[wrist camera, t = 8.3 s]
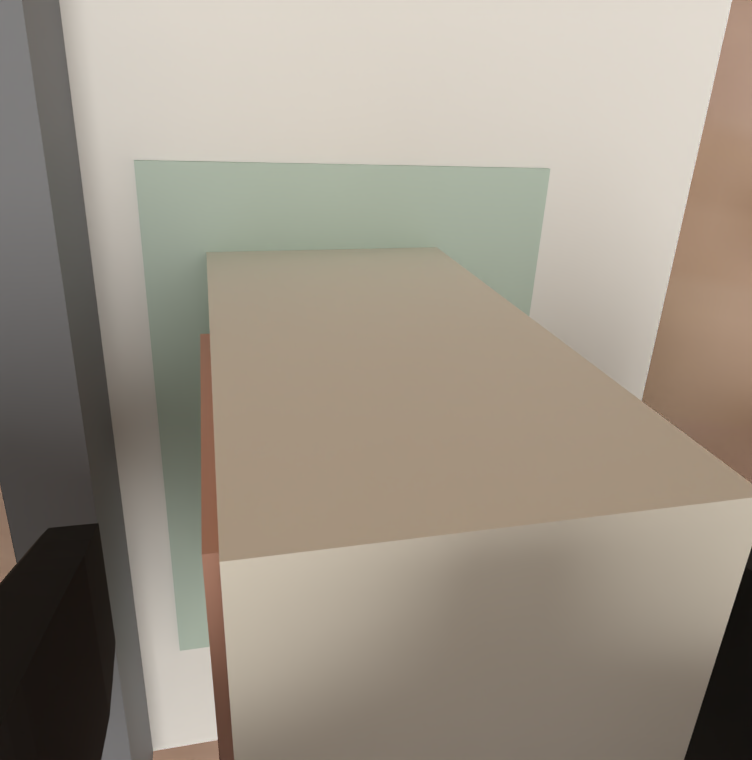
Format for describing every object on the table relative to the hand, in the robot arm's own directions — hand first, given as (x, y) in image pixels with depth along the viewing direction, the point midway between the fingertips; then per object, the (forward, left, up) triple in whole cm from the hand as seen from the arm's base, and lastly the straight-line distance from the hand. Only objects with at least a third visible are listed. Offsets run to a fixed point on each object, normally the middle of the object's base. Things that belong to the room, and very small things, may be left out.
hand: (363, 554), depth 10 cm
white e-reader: (0, -1, -4) cm, 5 cm away
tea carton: (0, 0, -4) cm, 4 cm away
